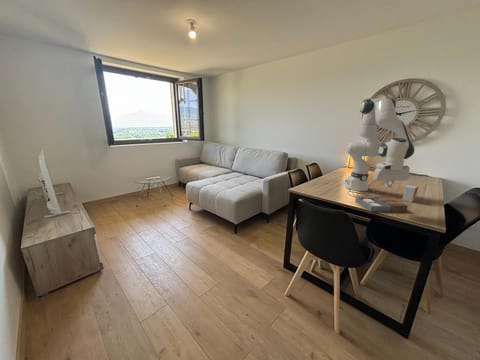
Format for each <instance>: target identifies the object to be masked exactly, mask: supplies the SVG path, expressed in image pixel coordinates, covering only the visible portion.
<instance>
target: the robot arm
mask: <svg viewBox="0 0 480 360" xmlns="http://www.w3.org/2000/svg"><path fill="white" fill-rule="evenodd" d="M396 105H397V103H396V100H395V99H394V98H393V99H392V98H383V97H379V98H366V99H364V100H363V101H362V102H361V103H360V106H359V111H360V113H361V114H363V115H362V119H361V122H360V129H359V132H358V133H359V136H361V137H362V138H363V139H365V140H366V142H363V141H362V142H361V141H359V142H358V141H357V142H356V141H355V142H349V143H348V144H347V146H346V153H347V154H348V155H349V156H350V157H351V158H352V160H353V169H352V171H351V173H350V176H348V177H346V178H345V180H344V182H341V185H342V186H343V187H344V188H345V189H347V190H352V191H356V192H367V191H368V190H369V188H370V187H369V174H370V173H369V172H370V171H369V170H370V162H368V161H367V160H365V159H364V158H363V157H371V158H375V157H381V158H384V159H385V161H382V162H378V163H376V164H375V168H374V171H373V174H372V179H373V180H375V181H379V182H382V181H384V183H385V186H384V187H385V188H392V187H393V185H394V184H395V182H396V181H401V182H403V181H405V182H406V181H408V180H409V179H410V178H409V177H410V166H408V165H404V164H405V163H404V162H405V160H407V159H410V158H411V157H412V156H413V155H414V153H415V146H414V145H413V143H412V141H411V139H410V137H409V133H408V131H407V129H406V125H405V123H404V122H403V121H402V120H400V118H399V117H398V115H397V112H396ZM378 127H379V128H382V129H385V130H388V131H391V132H393V133H394V134H396V137H393V138H391V139H390V141H387V142H382V143H381V142H380V140H378V137H377V131H378V130H377V129H378Z"/></svg>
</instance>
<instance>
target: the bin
mask: <svg viewBox="0 0 480 360" xmlns="http://www.w3.org/2000/svg"><path fill="white" fill-rule="evenodd" d="M374 197H375V196H374ZM374 197H373V196H372V197H371V196H369V197H368V196H367V197H361V196H360V197H359V196H358V197H355V201H354V202H355V203H356V204H358V205H360V206H361V207H363V208H364V209H365V210H367V211H369V212H373V213H374V212H375V213H376V212H380V213H381V212H383V213H385V212H388V213H389V212H390V209H391V206H389V205H387V204H385V203H384V202H382V201H380V200H378V199H376V198H374ZM363 199H371V200H373V201H375V203H377V204H379V205H381V206H371V205H369V204H368V203H366V202H364V201H363ZM390 213H391V212H390Z"/></svg>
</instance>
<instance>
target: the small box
mask: <svg viewBox="0 0 480 360" xmlns="http://www.w3.org/2000/svg"><path fill="white" fill-rule="evenodd" d="M404 187H405V188H404V191H403V195H402V201H405V202H408V203H409V202H410V203H413V202H414V201H415V200H416V197H417V194H418V193H417V192H418V189H419V186H417V185H412V184H408V185H406V186H404Z"/></svg>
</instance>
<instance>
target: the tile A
mask: <svg viewBox="0 0 480 360" xmlns="http://www.w3.org/2000/svg"><path fill="white" fill-rule="evenodd" d="M363 201H364V202H366V203H368V204H369V203H375V201H373V200H371V199H363Z"/></svg>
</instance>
